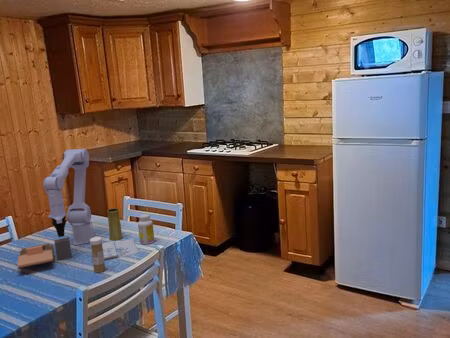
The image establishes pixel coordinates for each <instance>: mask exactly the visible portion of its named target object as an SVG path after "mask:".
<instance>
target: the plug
mask: <svg viewBox="0 0 450 338" xmlns="http://www.w3.org/2000/svg"><path fill="white" fill-rule="evenodd" d="M53 242H54V246H55V247H54V248H55V254H56V259H57V260H56V261H57V262H59V261H62V260H63V261H64V260H67V259H72V258H73V255H72V248H71V240H70V237H64V238H59V239H58V238H57V239H54V241H53Z"/></svg>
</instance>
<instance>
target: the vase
mask: <svg viewBox="0 0 450 338" xmlns="http://www.w3.org/2000/svg"><path fill="white" fill-rule="evenodd" d="M106 211H107V220H108V221H107V223H108V229H109V230H108V231H109V240H110V241H111V242H112V241H113V242H117V241H121V239H123V238H124V237H123V232H122V225H121V219H120V211H119V208H116V207H115V208H109V209H107V210H106Z"/></svg>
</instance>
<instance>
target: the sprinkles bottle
mask: <svg viewBox="0 0 450 338" xmlns="http://www.w3.org/2000/svg"><path fill="white" fill-rule="evenodd" d="M102 243H103V239H102V237H100V236H95V237H94V238H91V239H90V243H89V245H90V249H92V252H91V259H92V265H93V272H94V273H96V274H97V273H102V272H105V270H106V265H105V260H104V254H103V247H102Z"/></svg>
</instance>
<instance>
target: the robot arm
mask: <svg viewBox="0 0 450 338" xmlns="http://www.w3.org/2000/svg"><path fill="white" fill-rule="evenodd" d="M89 164H90V153H89V151H88V150H87V149H86V148H78V149H77V148H76V149H74V148H73V149H69V148H68V149H66V150H65V151H64V152H63V160H62V162H61V163H60V165H57V166H56V167H55V168H54V170H53V171H52V172H51V174H50V175H49V176H46V177H45V178H44V179H43V184H42V187H43V189H44V190H45V194H46V195H47V199H48V205H49V211H50V214H49V215H47V218H48V219H49V218H51V223H52V226H53V227H54V229H55V230H56V233H57V236H58V238H61V237H64V236H65V227H66V224H67V222H68V224H70V226H71V227H72V234H73V236H72V237H73V239H72V242H73V246H79V245H83V244H88V243H89V244H90V239H91V238H94V237H96V234H95V231H94V228H95V227H94V223H93V221H91V219H92V212H91V207H90V206H89V205H88V204H86V202H85V199H86V179H87V178H86V176H87V168H88V167H89V166H90V165H89ZM70 168H72V169H74V184H73V185H74V187H73V203H72V204H70V205H69V206H68V209H67V213H66V209H65V202H64V196H63V189H64V184H65V180H66V179H67V177H68V175H69V173H70V172H69V169H70Z"/></svg>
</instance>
